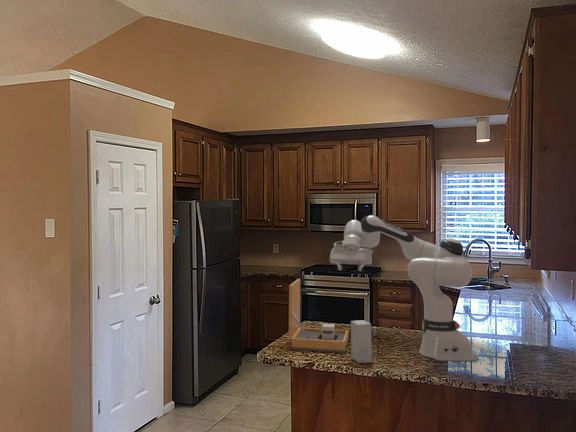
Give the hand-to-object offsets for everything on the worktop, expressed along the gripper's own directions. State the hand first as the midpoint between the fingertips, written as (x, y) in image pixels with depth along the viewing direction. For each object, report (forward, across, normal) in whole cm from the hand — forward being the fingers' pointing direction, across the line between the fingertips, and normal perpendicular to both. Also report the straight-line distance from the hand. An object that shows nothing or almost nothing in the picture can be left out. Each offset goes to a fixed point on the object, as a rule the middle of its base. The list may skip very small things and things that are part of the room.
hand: (349, 269), depth 245 cm
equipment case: (+39, +10, -2) cm, 41 cm away
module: (+39, +7, -1) cm, 39 cm away
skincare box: (+52, -8, +10) cm, 54 cm away
